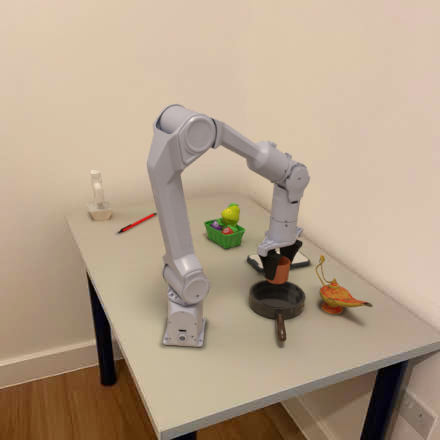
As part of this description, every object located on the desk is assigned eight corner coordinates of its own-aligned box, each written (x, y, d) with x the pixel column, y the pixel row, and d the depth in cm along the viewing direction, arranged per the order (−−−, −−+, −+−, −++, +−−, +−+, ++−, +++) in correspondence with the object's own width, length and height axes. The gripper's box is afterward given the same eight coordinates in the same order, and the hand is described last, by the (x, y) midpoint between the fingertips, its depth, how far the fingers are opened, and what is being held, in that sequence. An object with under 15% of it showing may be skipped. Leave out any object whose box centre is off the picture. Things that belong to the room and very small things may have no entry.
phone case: (294, 252, 128) (245, 260, 122) (294, 247, 127) (245, 255, 121) (311, 266, 121) (260, 275, 115) (312, 261, 120) (261, 269, 114)
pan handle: (274, 313, 98) (275, 307, 97) (282, 314, 98) (283, 307, 97) (277, 343, 89) (278, 337, 88) (286, 344, 89) (287, 337, 88)
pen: (117, 233, 134) (117, 230, 133) (155, 214, 148) (155, 210, 148) (119, 234, 133) (119, 230, 133) (157, 214, 148) (157, 211, 147)
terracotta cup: (289, 285, 98) (291, 267, 96) (264, 284, 98) (266, 265, 96) (287, 274, 103) (289, 255, 100) (263, 272, 103) (265, 254, 100)
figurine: (91, 224, 139) (85, 177, 131) (87, 213, 146) (81, 167, 138) (114, 221, 141) (110, 175, 133) (109, 210, 148) (104, 166, 140)
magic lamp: (353, 336, 94) (364, 293, 88) (300, 296, 107) (307, 255, 101) (376, 328, 97) (388, 285, 91) (322, 289, 110) (329, 250, 104)
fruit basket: (202, 237, 133) (202, 202, 127) (225, 231, 138) (226, 196, 132) (225, 252, 126) (227, 214, 120) (248, 244, 130) (251, 208, 124)
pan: (306, 322, 98) (308, 310, 96) (249, 318, 98) (250, 306, 97) (300, 291, 109) (301, 280, 107) (248, 288, 109) (249, 277, 107)
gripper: (287, 203, 99) (280, 257, 107) (247, 221, 90) (243, 278, 97) (314, 212, 96) (305, 267, 103) (275, 231, 86) (269, 290, 93)
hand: (276, 273), depth 100 cm, fingers closed on terracotta cup, 5 cm apart
